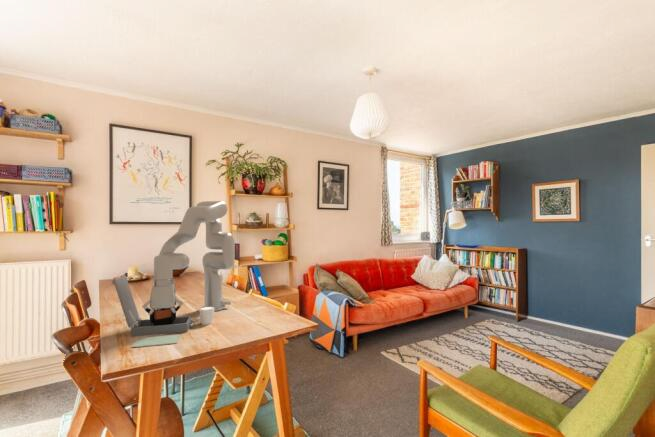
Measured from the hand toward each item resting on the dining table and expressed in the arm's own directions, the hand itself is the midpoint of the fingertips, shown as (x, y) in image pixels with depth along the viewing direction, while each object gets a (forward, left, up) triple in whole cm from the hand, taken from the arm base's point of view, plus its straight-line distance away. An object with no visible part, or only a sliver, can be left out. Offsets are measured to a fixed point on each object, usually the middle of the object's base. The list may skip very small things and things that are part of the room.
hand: (163, 321), depth 143 cm
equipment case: (0, 0, -4) cm, 4 cm away
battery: (0, 0, -4) cm, 4 cm away
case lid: (+14, 0, +11) cm, 17 cm away
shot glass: (-18, -5, -4) cm, 19 cm away
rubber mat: (-1, +15, -4) cm, 15 cm away
